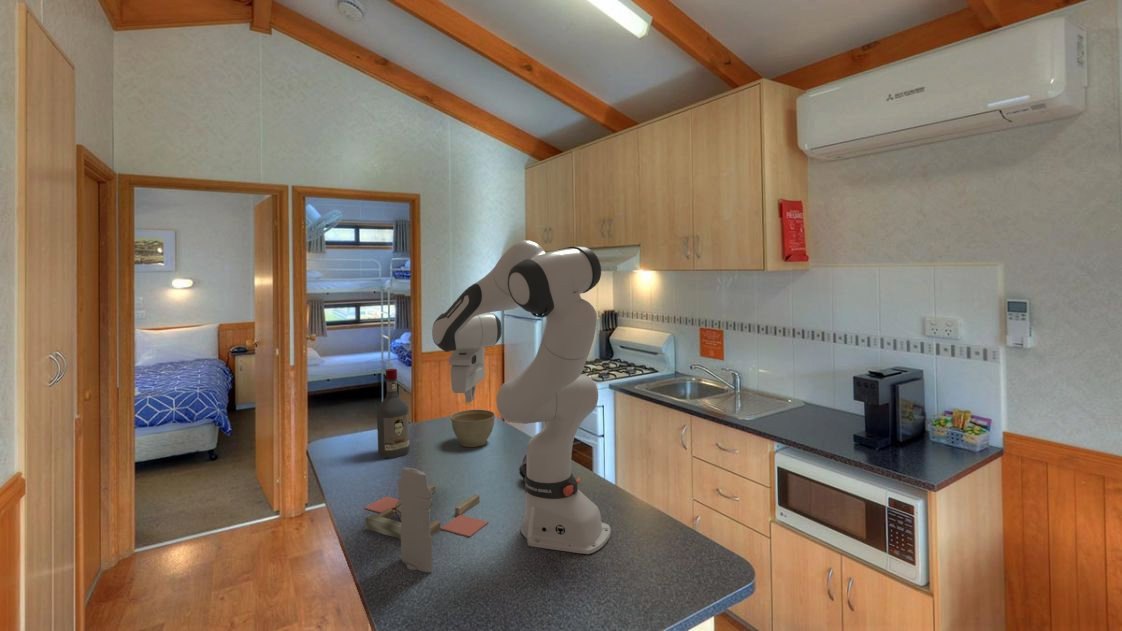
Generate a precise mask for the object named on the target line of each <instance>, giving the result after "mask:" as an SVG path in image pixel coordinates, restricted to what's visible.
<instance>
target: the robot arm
mask: <svg viewBox="0 0 1122 631" xmlns="http://www.w3.org/2000/svg"><path fill="white" fill-rule="evenodd" d="M601 277H602V266H601V262H600V260H599V258H598V256H597V255H596V253H595V252H594V251H593V250H592V249H590V248H588V247H586V246H569V247H568V246H567V247H564V248H559V249H558V250H557V249H556V250H553V251H547V252H546V251H545V249H544V248H543V247H542V246H541V245H540V244H538V243H537V242H534V241H532V240H528V239H524V240H519V241H517V242H515V243H513V245H511V246H510V247H509V248H508V249H507V250H506V251H505V252H504V254H502V256H501V257H500V258H499V260H498V261H497V262H496V264H495V266H494V267H493V268H492V269H491V270H490V272H488V273H487V274H486V275H485V276H484V277H482V278H481V279H479V280H478V281H476V282H475V283H472V284H471V285H470V286H468V287H467V288H466V289H465V290H464V291H463V292H462V293H461V294H460V295H459V297H458V298H456V300H455V301H454V302H453V303H452V305H450V307H449V308H448V309H447V310H446V311H445V312H443V313H441V314H440V315H439V316H438V317H436V319H435V321H434V322H433V325H432V331H431V333H432V341H433V343H434V344H435V345H436V346H437V347H438V348H439V349H441V350H442V351H444V352H445V353H447V352H448V353H449V352H452V353H451V355H450V356H449V358H448V366H450V383H451V390H452V392H453V393H454V394H464V396H465V397H464V398H465V401H464V402H466V403H471V402H473V401H474V400H475V394H476V388H477V385H478V384H479V383H480V382H482V381H483V380H484V379H485V377H486V369H485V367H486V366H485V359H486V358H485V348H487V347H492V346H495V345H496V344H497V343H498V342H499V341H500V339H501V337H502V334H503V332H502V329H503V327H502V323H501V321H502V320H500V318H499V317H498V316H497V315H496V314H494V313H495V312H502V311H511V310H514V309H517V308H519V307H520V308H521V309H523V310H524V311H526V312H529V313H530V314H531V315H533V317H535V318H539V319H540V318H546V324H545V328H544V331H543V334H542V338H541V341H540V344H539V347H538V350H537V353H536V355H535V357H534V358H533V360H532V361H531V362H530V363H529V365H528V366H527V367H526V368H525V369H524V370H522V371H521V372H520V373H519V374H518V375H516V376H515V377H513V378H511V379H510V380H509V379H508V380H507V381H506V382H504V383H502V385H501V386H500V388H499V389H498V392H497V394H496V401H495V402H496V408H497V411H498V413H499V414H500V416H501V418H502V419H503V420H504V421H506V422H507V423H512V424H525V425H526V424H535V423H543V422H544V423H545V422H546V424H544V427H543V428H542V429H541V430H540V431H539V432H538V433H536V434H535V435H533V436H532V437H531V438H530V439H529V441H528V443H527V446H526V452H525V453H526V454H527V473H526V474H525V481H524V482H525V483H524V492H525V506H524V512H523V517H522V518H523V519H522V522H521V525H520V533H521V535H523V537H524V538H525V539H526V544H527V545H528V546H529V547H532V548H540V549H547V550H553V551H554V550H555V551H562V552H568V553H576V554H581V555H582V554H585V555H590V554H593V553H595V552H597V551H599V550H600V549H601V548H602V547H604V546H605V545H606V544H607V542H608V541H609V540H610V538H611V534H612V532H611V527H610V525H609V524H607V523H605V522H602V517H601V511H600V509H599V507H598V505H596V504H595V503H594V502H593V501H591V499H590V498H588V497H587V496H586V495H585V494H583V492H582V491H580V490H579V489H578V484H580V483H581V477H580V476H579V477H578V478H575V477H574V474H573V473H572V455H573V454H572V452H573V444H574V439H575V437H576V434H577V433H578V430H579V428H580V427H581V425H582V423H583V422H584V420H586V418H587V417H588V416H589V415H590V414H592V413H593V412H594V410H595V409H596V407H597V404H598V402H599V401H598V400H599V390H598V387H597V384H596V383H595V381H594V380H593V378H592V377H590V376H589V375H585V374H582V373H583V371H584V368H585V365H586V362H587V360H588V357H589V354H590V352H591V349H592V346H593V342H594V340H595V335H596V328H597V320H598V318H597V312H596V308H594V306H593V305H592V304H591V303H590V302H589V301H587V300H585V299H583V298H582V297H581V294H586V293H587V292H589V291H590V290H592V289H593V288H595V287H596V285H598V284H599V282H600V279H601Z"/></svg>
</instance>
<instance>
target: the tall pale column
mask: <svg viewBox="0 0 1122 631" xmlns="http://www.w3.org/2000/svg"><path fill="white" fill-rule="evenodd" d="M397 486H398V487H397V490H398V496H399V499H400V500H401V501H400V503H401V519H402V520H401V521H400V522H402V524H401V539H400V554H401V556H400V558H401V562H403V564H405V565H406V566H407V569H409V570H410V571H417V572H418V571H419V572H421V573H425V574H431V573H433V571H434V570H433V542H432V541H433V539H432V536H431V534H430V524H431V507H432V503H433V499H432V498H433V497H432V496H433V494H432V491H431V489H430V488H429V486H430V485H429V483H428V477H427V474H426V473H425V472H423V471H421V470H418V469H417V468H414V467H412V468H411V467H407V466H404V467H402V468H401V474H400V478H399V479H398V481H397Z"/></svg>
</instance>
